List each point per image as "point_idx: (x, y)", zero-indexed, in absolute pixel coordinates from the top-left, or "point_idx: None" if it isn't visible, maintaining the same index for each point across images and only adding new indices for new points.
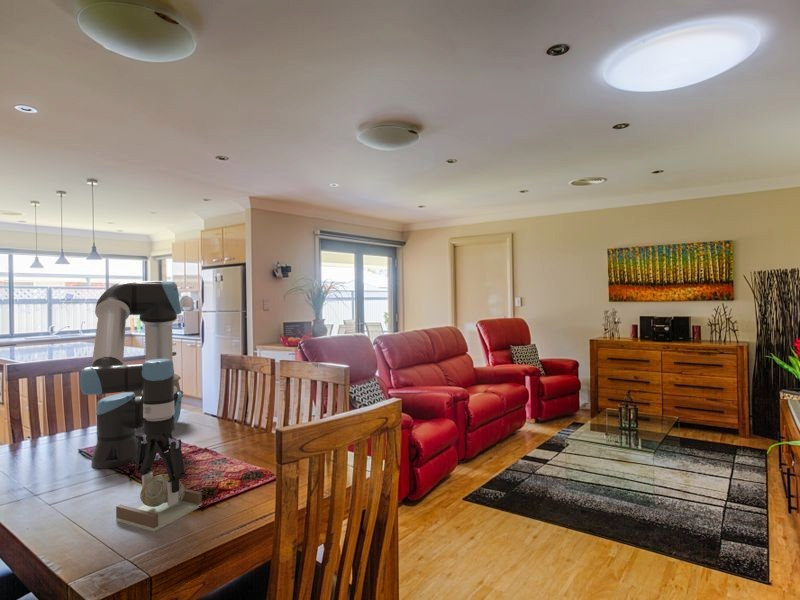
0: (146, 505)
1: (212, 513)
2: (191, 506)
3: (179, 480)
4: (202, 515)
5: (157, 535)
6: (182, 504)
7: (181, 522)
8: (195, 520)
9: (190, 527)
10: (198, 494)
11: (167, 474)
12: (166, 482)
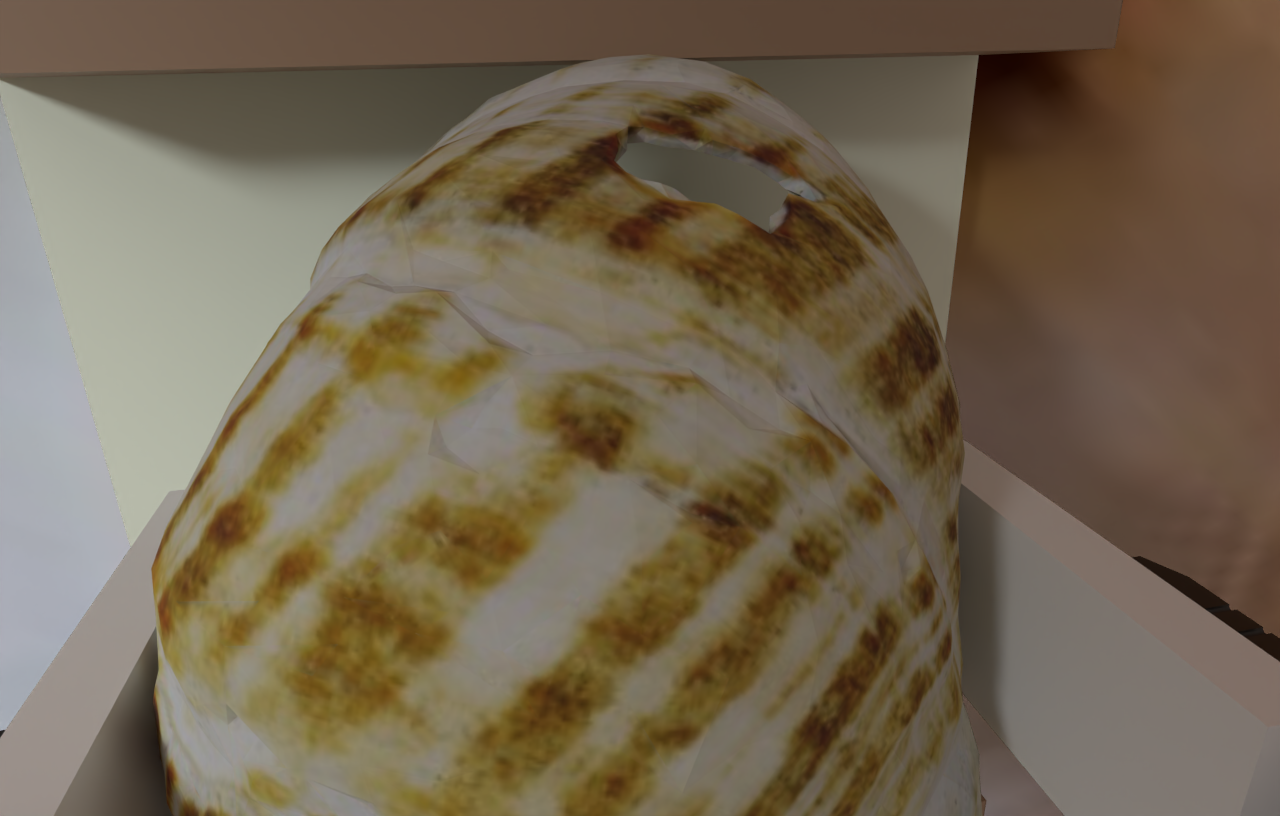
0: (181, 477)
1: (1242, 103)
2: (911, 152)
3: (834, 250)
4: (1147, 210)
5: (970, 723)
6: (715, 164)
7: (1014, 457)
8: (1140, 346)
9: (1180, 476)
10: (1110, 44)
11: (662, 663)
12: (933, 789)
